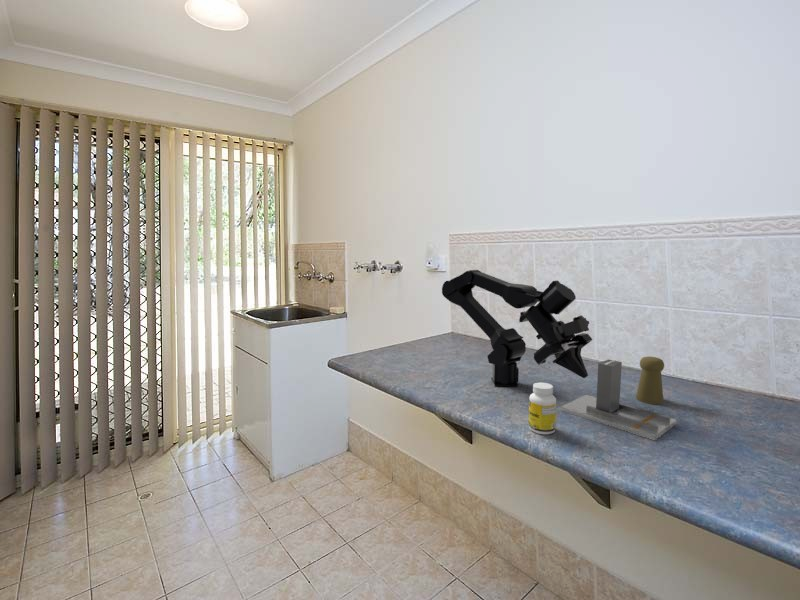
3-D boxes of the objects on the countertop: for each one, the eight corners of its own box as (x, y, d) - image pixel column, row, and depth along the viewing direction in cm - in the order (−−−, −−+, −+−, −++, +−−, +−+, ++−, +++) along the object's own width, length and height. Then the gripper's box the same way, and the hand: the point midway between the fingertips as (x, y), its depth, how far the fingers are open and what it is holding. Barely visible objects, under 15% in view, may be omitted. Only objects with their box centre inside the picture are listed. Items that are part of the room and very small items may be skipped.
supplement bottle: (524, 424, 89) (525, 381, 87) (548, 423, 89) (549, 380, 88) (534, 435, 83) (536, 390, 82) (559, 434, 84) (561, 389, 82)
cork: (636, 393, 106) (639, 353, 105) (663, 398, 103) (667, 356, 101) (634, 401, 101) (637, 358, 100) (663, 406, 98) (666, 362, 97)
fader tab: (595, 409, 93) (598, 362, 92) (605, 404, 96) (608, 358, 95) (609, 413, 91) (612, 365, 89) (619, 408, 94) (621, 361, 92)
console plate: (561, 410, 96) (561, 402, 96) (585, 398, 103) (586, 390, 103) (654, 440, 80) (655, 431, 80) (676, 424, 88) (676, 415, 88)
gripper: (546, 309, 93) (592, 366, 86) (586, 302, 105) (629, 351, 97) (516, 337, 100) (556, 392, 93) (557, 327, 112) (595, 375, 104)
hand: (586, 377), depth 97 cm, fingers closed
